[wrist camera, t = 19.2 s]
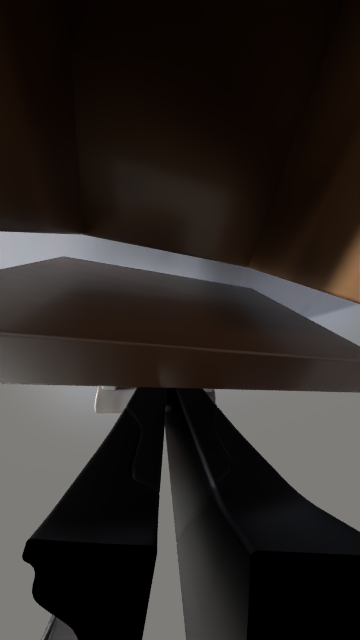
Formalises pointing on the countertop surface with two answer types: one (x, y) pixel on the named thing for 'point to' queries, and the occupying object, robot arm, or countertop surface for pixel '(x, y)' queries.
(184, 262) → the countertop surface
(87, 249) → the countertop surface
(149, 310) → the drawer
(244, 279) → the countertop surface
